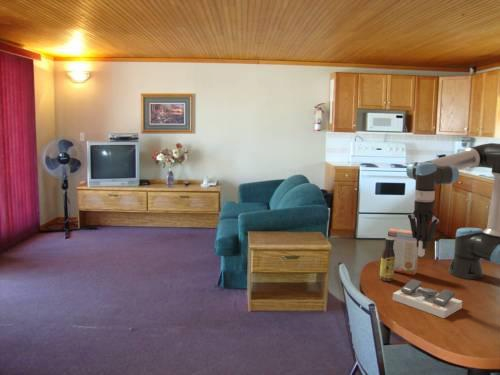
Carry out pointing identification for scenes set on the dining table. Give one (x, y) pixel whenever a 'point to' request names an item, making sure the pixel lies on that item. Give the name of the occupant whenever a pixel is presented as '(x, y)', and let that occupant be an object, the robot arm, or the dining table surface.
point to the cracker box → (404, 251)
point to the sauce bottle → (387, 261)
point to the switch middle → (427, 291)
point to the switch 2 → (443, 297)
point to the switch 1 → (411, 286)
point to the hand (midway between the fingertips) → (421, 255)
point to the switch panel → (427, 303)
